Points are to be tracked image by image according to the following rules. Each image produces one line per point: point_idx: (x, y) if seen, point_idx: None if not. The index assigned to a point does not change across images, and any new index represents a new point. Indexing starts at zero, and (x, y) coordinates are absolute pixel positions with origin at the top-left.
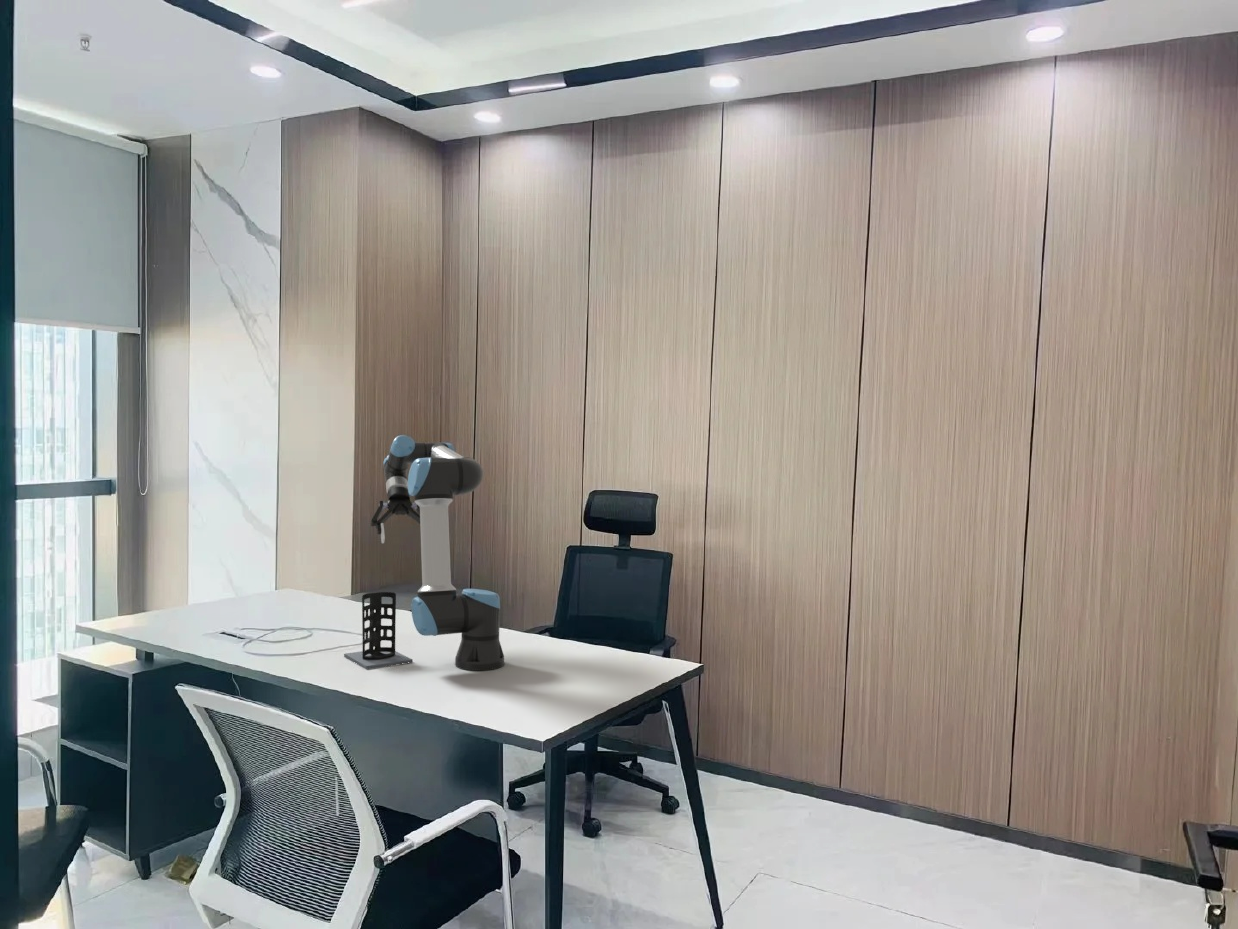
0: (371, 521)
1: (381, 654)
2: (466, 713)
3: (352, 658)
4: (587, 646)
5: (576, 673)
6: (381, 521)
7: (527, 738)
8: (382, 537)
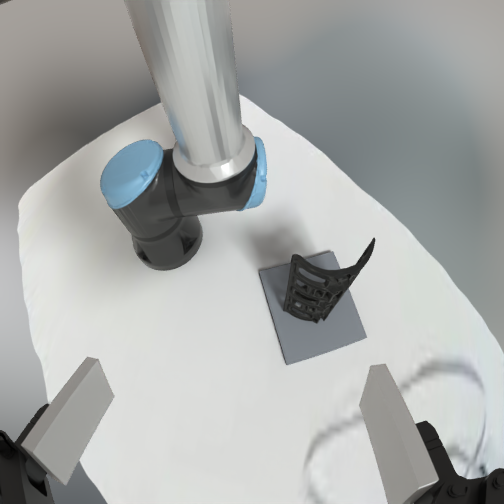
0: (502, 477)
1: (308, 298)
2: (243, 110)
3: (353, 302)
4: (27, 288)
5: (99, 185)
6: (437, 501)
7: None
8: (388, 373)
